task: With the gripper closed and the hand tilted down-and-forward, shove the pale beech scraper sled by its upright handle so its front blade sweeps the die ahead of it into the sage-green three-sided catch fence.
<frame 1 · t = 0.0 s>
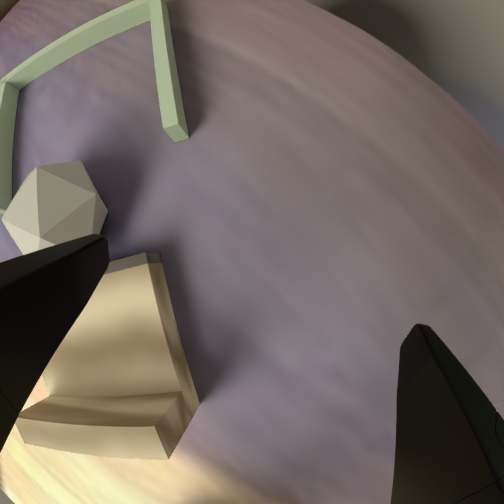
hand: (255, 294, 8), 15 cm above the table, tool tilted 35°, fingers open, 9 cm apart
catch fence: (75, 104, 25), on the table
scraper sled: (109, 347, 24), on the table
die: (83, 220, 24), on the table
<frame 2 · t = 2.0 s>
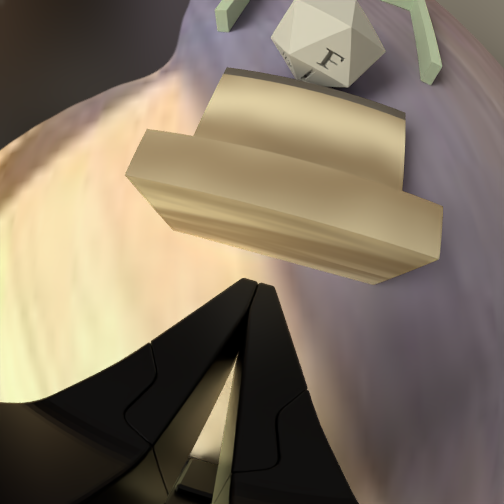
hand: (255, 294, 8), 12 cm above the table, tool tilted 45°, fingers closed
catch fence: (334, 11, 26), on the table
scraper sled: (294, 177, 21), on the table
die: (320, 73, 24), on the table
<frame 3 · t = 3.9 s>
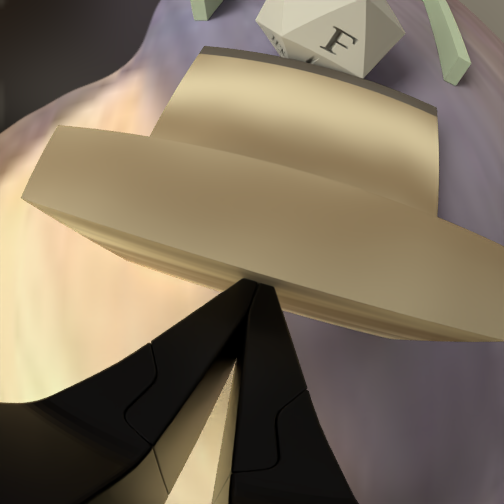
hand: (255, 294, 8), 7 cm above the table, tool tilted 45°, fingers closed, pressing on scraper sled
scraper sled: (289, 190, 16), on the table, touching die, gripper
die: (321, 64, 18), on the table, touching scraper sled
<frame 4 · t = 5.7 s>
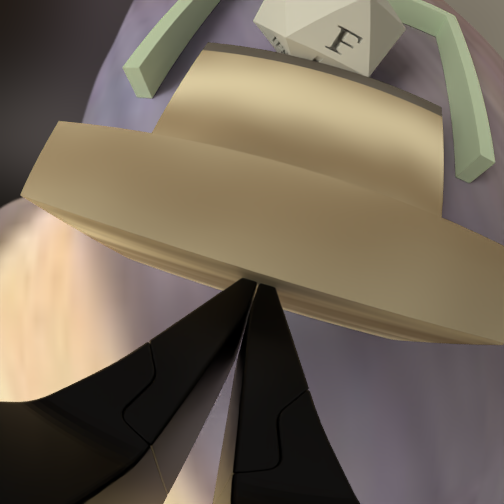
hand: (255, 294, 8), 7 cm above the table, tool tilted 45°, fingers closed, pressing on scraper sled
catch fence: (326, 44, 18), on the table
scraper sled: (293, 189, 16), on the table, touching die, gripper
die: (320, 63, 18), on the table, touching scraper sled
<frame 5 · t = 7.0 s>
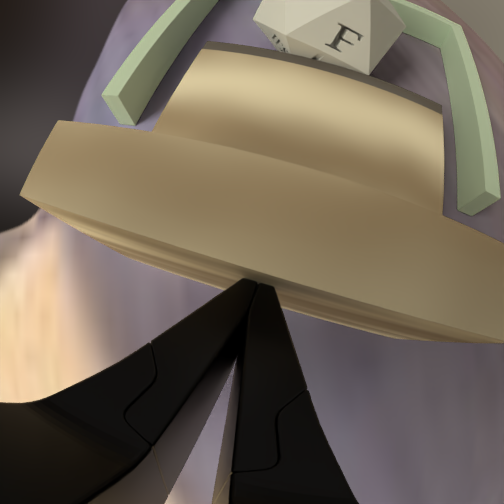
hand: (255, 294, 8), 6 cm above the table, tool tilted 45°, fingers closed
catch fence: (322, 60, 18), on the table
scraper sled: (293, 187, 16), on the table, touching gripper
die: (321, 61, 18), on the table
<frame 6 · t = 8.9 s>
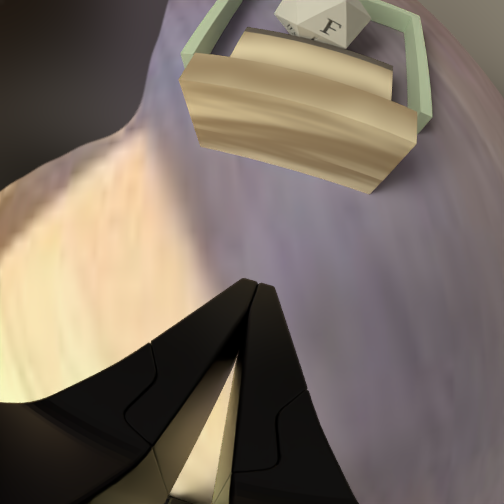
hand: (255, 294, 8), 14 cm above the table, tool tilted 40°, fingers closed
catch fence: (318, 41, 26), on the table
scraper sled: (301, 111, 24), on the table
die: (317, 41, 26), on the table
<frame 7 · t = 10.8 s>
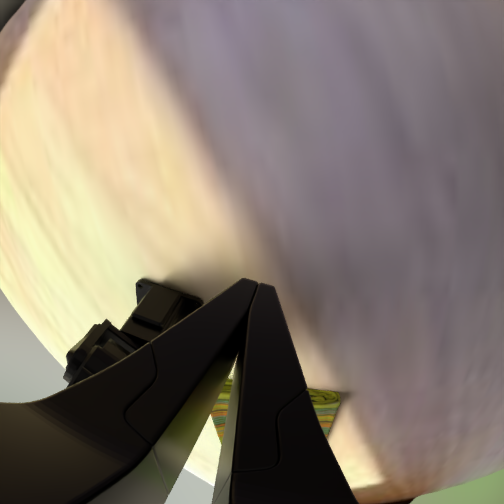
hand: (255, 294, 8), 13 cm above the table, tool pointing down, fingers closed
dish towel: (272, 443, 40), on the table
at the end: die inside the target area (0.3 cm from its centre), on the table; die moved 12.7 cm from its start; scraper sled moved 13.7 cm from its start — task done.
